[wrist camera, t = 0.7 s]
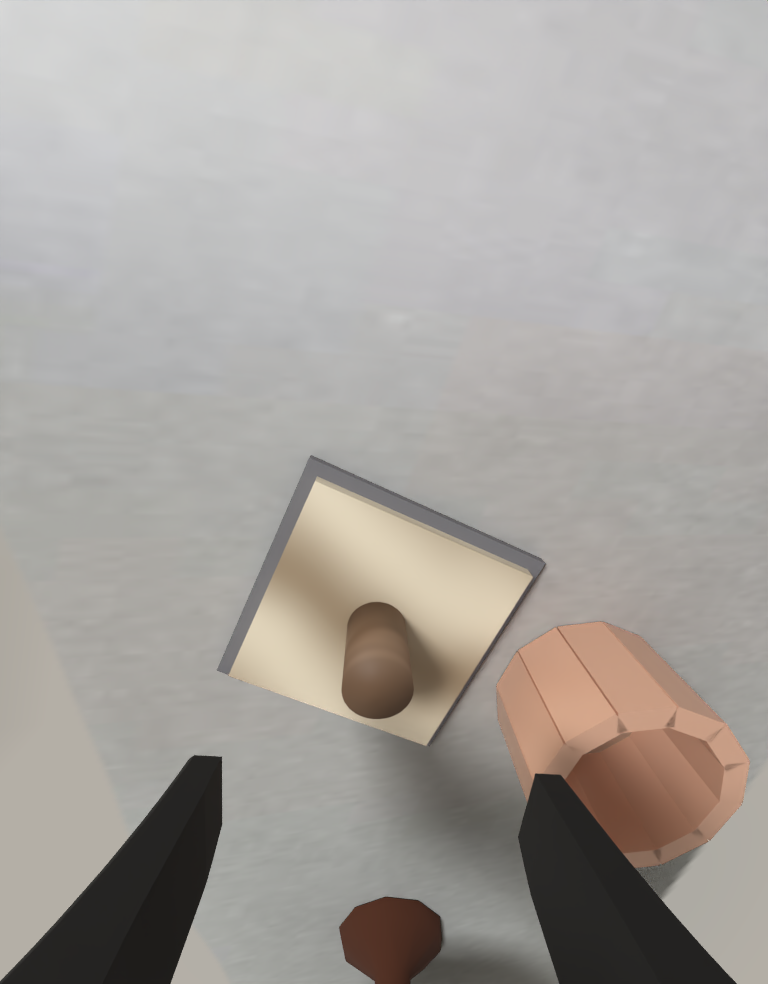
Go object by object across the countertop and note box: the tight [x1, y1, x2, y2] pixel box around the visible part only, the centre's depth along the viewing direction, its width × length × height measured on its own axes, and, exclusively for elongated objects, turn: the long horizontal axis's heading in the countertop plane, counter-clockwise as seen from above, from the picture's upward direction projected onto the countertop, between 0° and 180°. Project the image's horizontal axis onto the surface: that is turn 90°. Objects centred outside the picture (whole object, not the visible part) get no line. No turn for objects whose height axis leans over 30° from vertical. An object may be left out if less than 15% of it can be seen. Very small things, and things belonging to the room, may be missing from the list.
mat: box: [217, 455, 545, 746], centre depth 17 cm, size 10×10×1 cm
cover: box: [228, 476, 533, 746], centre depth 15 cm, size 9×9×4 cm
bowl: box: [496, 622, 750, 868], centre depth 16 cm, size 7×7×4 cm
